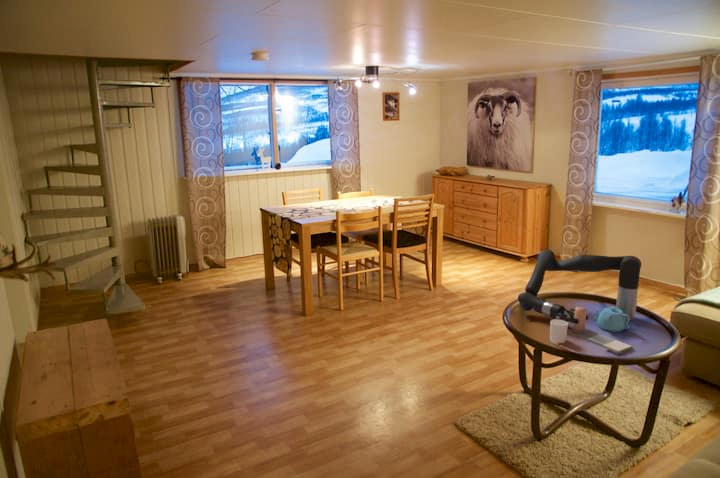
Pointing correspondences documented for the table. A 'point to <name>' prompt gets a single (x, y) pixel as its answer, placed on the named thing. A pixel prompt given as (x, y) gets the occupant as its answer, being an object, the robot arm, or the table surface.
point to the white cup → (558, 331)
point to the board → (603, 341)
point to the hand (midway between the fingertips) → (582, 320)
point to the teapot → (612, 319)
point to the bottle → (580, 320)
